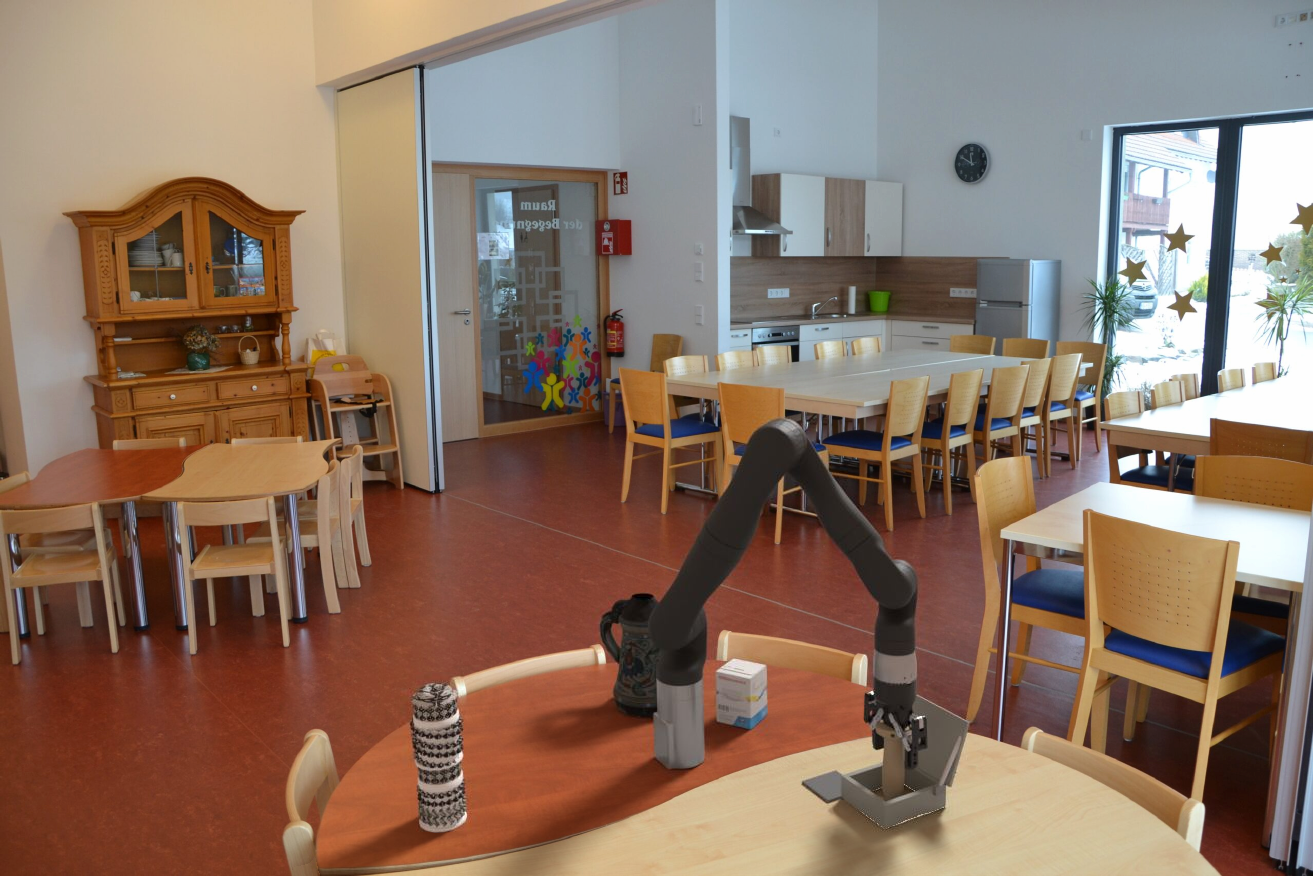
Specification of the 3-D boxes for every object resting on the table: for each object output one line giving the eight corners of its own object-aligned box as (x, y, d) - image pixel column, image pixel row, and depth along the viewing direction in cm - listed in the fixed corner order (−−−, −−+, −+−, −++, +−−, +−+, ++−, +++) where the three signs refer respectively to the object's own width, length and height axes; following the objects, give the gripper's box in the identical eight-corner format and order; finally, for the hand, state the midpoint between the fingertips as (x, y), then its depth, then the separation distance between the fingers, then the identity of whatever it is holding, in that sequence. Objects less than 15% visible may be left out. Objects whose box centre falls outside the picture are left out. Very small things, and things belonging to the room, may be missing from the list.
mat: (827, 802, 179) (827, 800, 179) (802, 783, 186) (802, 781, 186) (862, 791, 183) (862, 789, 182) (835, 772, 190) (835, 770, 189)
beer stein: (686, 718, 214) (684, 608, 210) (597, 719, 215) (593, 610, 210) (685, 686, 231) (683, 584, 226) (603, 688, 231) (599, 586, 227)
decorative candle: (444, 839, 171) (434, 704, 166) (406, 824, 175) (396, 693, 171) (479, 814, 178) (471, 684, 174) (442, 801, 183) (433, 674, 179)
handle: (910, 812, 175) (911, 733, 172) (873, 807, 177) (874, 729, 174) (911, 798, 179) (913, 721, 177) (876, 793, 181) (876, 717, 179)
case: (888, 832, 169) (889, 746, 166) (837, 795, 181) (838, 714, 179) (967, 804, 177) (970, 721, 175) (914, 770, 189) (915, 692, 187)
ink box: (768, 714, 215) (767, 664, 213) (750, 730, 208) (750, 678, 206) (733, 706, 219) (733, 657, 217) (715, 721, 212) (714, 670, 210)
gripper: (852, 664, 179) (852, 747, 181) (905, 692, 166) (905, 781, 169) (884, 655, 182) (884, 737, 185) (939, 682, 169) (938, 770, 172)
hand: (894, 758), depth 177 cm, fingers open, 8 cm apart
